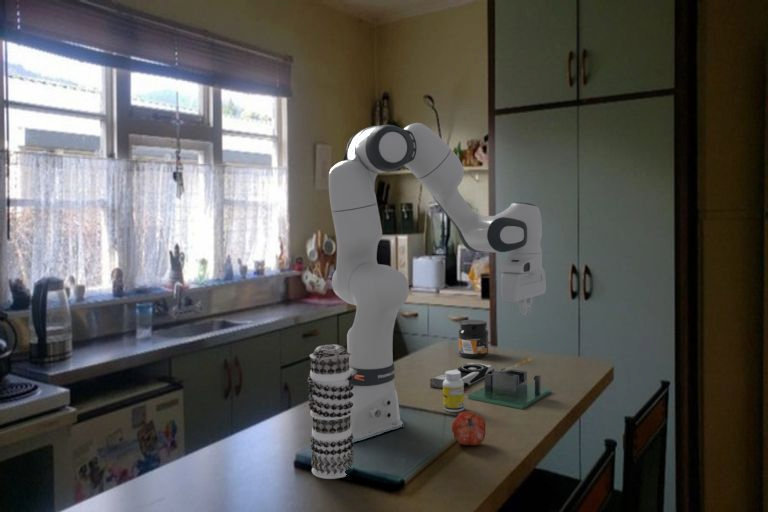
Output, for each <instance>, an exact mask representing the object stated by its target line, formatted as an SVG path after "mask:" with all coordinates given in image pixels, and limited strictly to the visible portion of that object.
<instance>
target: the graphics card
mask: <svg viewBox="0 0 768 512" xmlns="http://www.w3.org/2000/svg"><path fill="white" fill-rule="evenodd" d="M454 370H457V371H460V372H461V378H460V379H461V380H462V381H463V382H464V389H467V387H471V386H472V385H474V384H476V383H478V382H480V381H481V380H485V374H492V371H495V368H494V367H493V366H492V365H490V364H484V363H477V362H469V363H465V364H463V365H461V366H460V367H458V368H455V369H454ZM444 380H446V378H445V373H444V374H443V375H441V374H440V375H438V376H435V377H432V378H429V388H430V387H431V388H438V389H443V381H444Z"/></svg>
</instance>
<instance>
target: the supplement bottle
mask: <svg viewBox="0 0 768 512" xmlns="http://www.w3.org/2000/svg"><path fill="white" fill-rule="evenodd" d="M444 374H445V378H446V380H444V381H443V388H442V399H443V400H442V405H443V407H442V408H443V410H444V411H446V412H449V413H459V412H460V413H461V412H463V411H464V410H465V391H464V390H465V388H464V382H463V381H462V380H461V379H460V378H461V372H460V371H457V370H455V369H452V370H451V369H450V370H446V371H445V372H444Z"/></svg>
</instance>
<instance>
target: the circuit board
mask: <svg viewBox="0 0 768 512" xmlns="http://www.w3.org/2000/svg"><path fill="white" fill-rule="evenodd" d="M506 368H507V367H503V368H501V370H500V371H502V370H504V369H506ZM500 371H499V370H494V371H492V374H493V375H492V374H485V378H484V387H481V388H480V389H478V390H475V391H474V392H471V393H469V394H468V395H467V398H468V399H470V400H474V401H478V402H479V401H480V402H485V403H490V404H494V405H498V406H499V405H500V406H504V407H509V408H515V409H519V410H524V409H525V408H527V407H529V406H530V405H532V404H534V403H535V402H537V401H539V400H541V399H542V398H544V397H545V396H547V395H549V394H550V393H552V391H551V388H549V387H543V386H542V385H541V380H542V379H541V378H542V377H541V375H539V374H536V375H534V376H533V381H534V385H531V384H528V371H526V370H521V369H515V368H513V369H511V370H509V371H507V372H505V373H501V372H500Z"/></svg>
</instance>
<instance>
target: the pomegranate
mask: <svg viewBox="0 0 768 512" xmlns="http://www.w3.org/2000/svg"><path fill="white" fill-rule="evenodd" d="M451 429H452V433H453V436H454V438H455V440H456V441H457V442H458V443H460V444H461V445H463V446H478V445H480V444H482V442H483V441H484V440H485V436H486V421H485V419H484V418H483V417H482V416H480V415H479V414H476V413H475V412H473V411H471V410H469V411H467V410H466V411H461V412H460V413H459V414H458V415H457V416H456V418H454V419H453V421H452V423H451Z"/></svg>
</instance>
